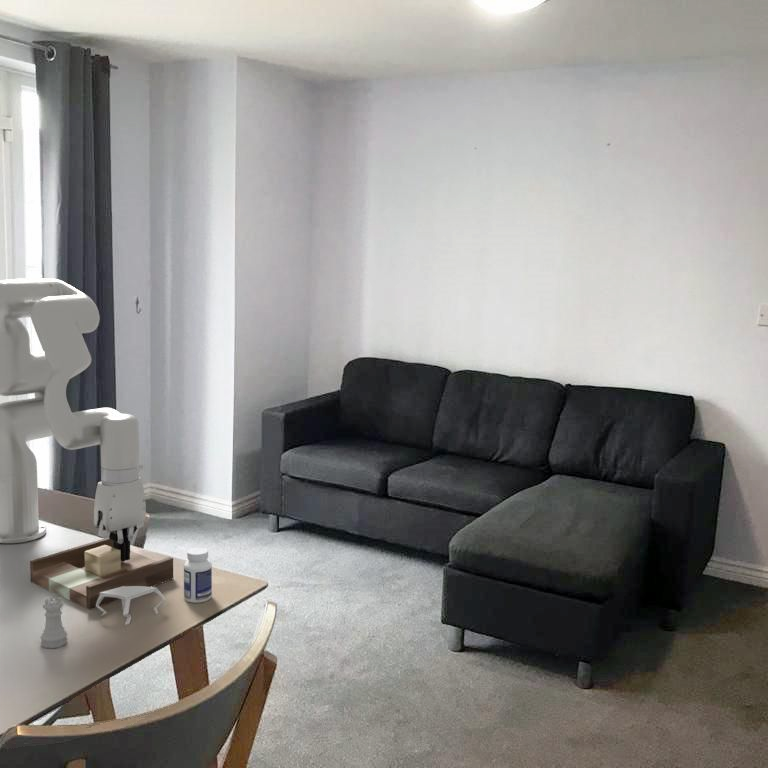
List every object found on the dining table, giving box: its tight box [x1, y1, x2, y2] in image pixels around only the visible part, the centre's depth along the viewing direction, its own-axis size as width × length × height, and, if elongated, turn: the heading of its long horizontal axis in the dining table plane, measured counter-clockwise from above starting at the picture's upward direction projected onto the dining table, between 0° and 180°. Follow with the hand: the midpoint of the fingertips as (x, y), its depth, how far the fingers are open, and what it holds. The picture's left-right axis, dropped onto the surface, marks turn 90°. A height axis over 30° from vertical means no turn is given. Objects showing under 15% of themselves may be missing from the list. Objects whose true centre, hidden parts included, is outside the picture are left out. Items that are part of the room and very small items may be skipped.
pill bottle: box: [183, 547, 213, 604], centre depth 169 cm, size 5×5×10 cm
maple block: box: [84, 545, 121, 576], centre depth 176 cm, size 5×5×4 cm
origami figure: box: [96, 586, 168, 626], centre depth 161 cm, size 12×8×5 cm
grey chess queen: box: [40, 596, 69, 649], centre depth 149 cm, size 4×4×8 cm
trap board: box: [29, 538, 174, 610], centre depth 177 cm, size 20×20×4 cm
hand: (122, 558), depth 180 cm, fingers closed
